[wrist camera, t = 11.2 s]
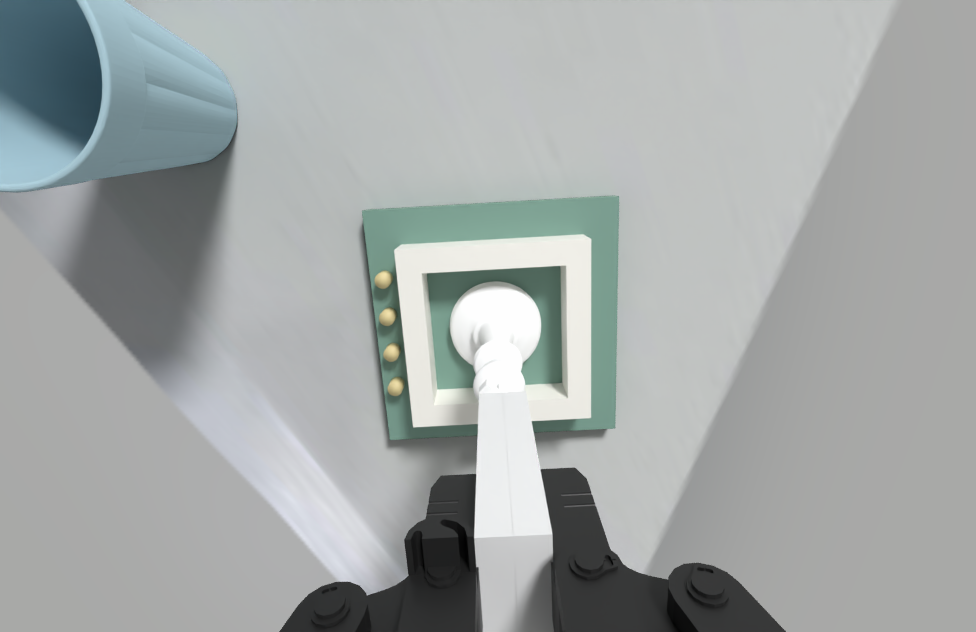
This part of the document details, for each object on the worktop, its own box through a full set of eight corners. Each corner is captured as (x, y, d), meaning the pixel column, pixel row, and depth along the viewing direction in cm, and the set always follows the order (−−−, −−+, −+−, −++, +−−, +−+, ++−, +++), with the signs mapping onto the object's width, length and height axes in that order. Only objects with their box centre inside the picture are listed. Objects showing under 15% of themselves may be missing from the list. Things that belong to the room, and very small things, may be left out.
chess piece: (500, 385, 28) (507, 497, 18) (431, 330, 27) (400, 417, 17) (559, 320, 27) (601, 403, 17) (490, 262, 26) (493, 313, 16)
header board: (366, 209, 26) (351, 213, 23) (614, 195, 26) (630, 197, 23) (393, 431, 30) (383, 459, 27) (610, 420, 29) (624, 446, 27)
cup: (285, 163, 25) (151, 154, 15) (148, 204, 26) (-68, 220, 16) (225, 1, 23) (27, -132, 13) (78, 49, 24) (-218, -44, 14)
